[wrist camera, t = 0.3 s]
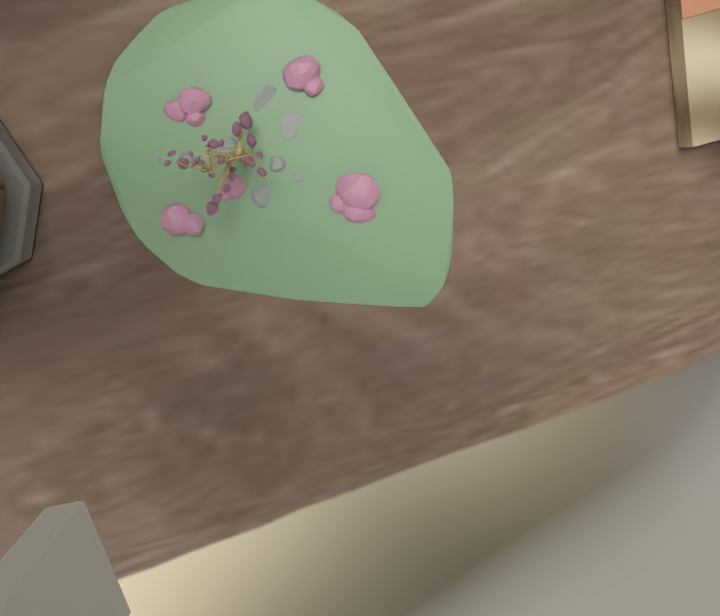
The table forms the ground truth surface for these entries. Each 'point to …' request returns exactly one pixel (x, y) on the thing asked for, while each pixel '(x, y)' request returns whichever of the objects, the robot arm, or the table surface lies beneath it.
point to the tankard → (16, 204)
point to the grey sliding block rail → (695, 68)
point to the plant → (276, 156)
